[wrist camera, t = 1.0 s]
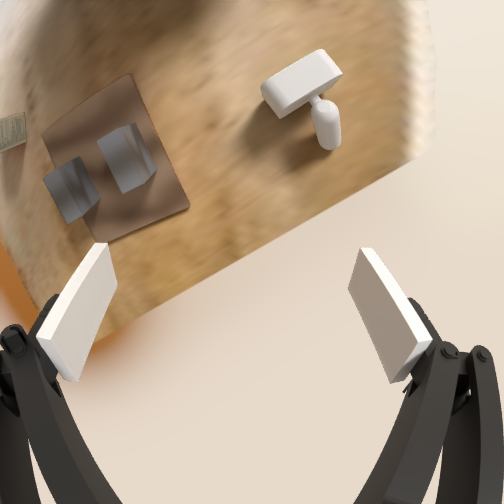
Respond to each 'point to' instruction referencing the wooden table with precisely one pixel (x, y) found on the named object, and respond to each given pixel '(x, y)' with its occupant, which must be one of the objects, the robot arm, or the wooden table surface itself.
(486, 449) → the robot arm
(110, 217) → the slotted post block
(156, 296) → the wooden table surface
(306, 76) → the wall hook
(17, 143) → the small box
